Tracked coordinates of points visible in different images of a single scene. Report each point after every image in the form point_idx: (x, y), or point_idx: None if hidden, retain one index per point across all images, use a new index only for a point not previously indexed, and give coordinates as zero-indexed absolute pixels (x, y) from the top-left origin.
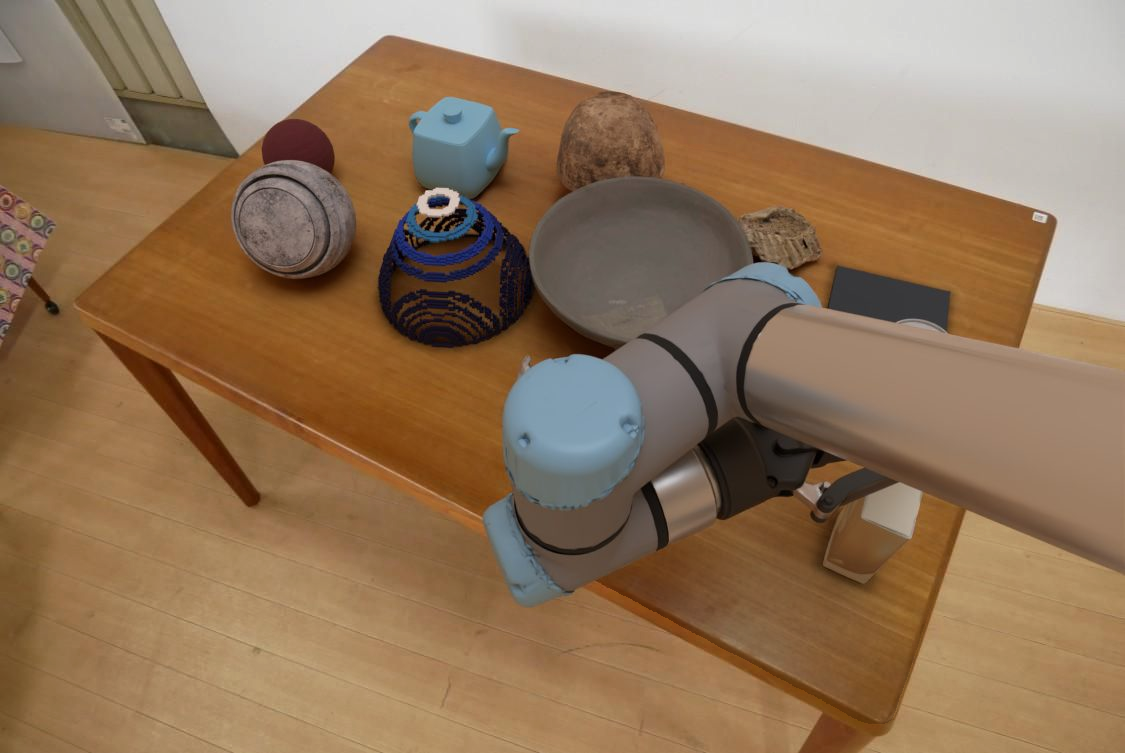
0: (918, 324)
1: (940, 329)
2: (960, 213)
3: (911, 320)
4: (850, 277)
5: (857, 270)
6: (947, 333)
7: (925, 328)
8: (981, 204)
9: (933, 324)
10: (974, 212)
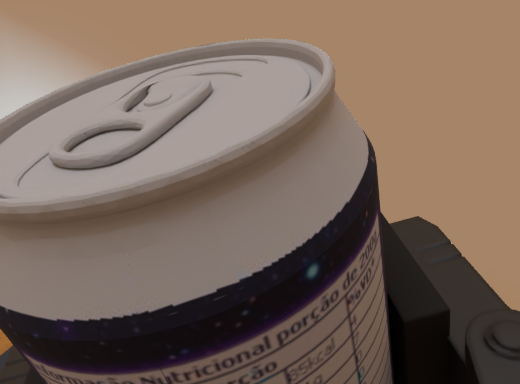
0: (56, 109)
1: (129, 67)
2: None
3: (18, 117)
4: (4, 365)
5: (4, 353)
6: (158, 55)
7: (90, 94)
8: None
9: (96, 78)
10: None
